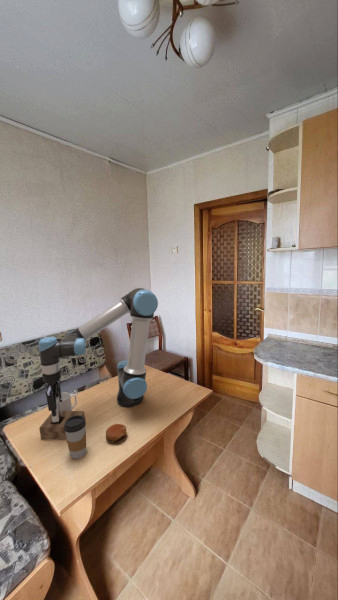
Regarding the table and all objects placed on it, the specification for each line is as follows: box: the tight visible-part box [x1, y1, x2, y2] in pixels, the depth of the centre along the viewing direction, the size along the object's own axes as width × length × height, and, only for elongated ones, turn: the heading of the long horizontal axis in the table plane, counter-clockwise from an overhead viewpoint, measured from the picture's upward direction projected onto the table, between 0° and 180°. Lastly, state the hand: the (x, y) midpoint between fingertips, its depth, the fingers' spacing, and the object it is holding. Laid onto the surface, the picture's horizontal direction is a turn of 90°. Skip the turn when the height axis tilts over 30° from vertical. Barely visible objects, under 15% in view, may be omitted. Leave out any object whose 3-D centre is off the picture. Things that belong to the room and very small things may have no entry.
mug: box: [60, 391, 78, 411], centre depth 129 cm, size 12×9×11 cm
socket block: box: [39, 410, 86, 441], centre depth 117 cm, size 16×12×6 cm
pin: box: [53, 396, 62, 424], centre depth 115 cm, size 4×4×12 cm
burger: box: [105, 423, 128, 444], centre depth 111 cm, size 10×9×5 cm
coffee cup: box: [64, 415, 87, 460], centre depth 102 cm, size 8×8×15 cm
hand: (57, 418), depth 116 cm, fingers closed on pin, 3 cm apart
